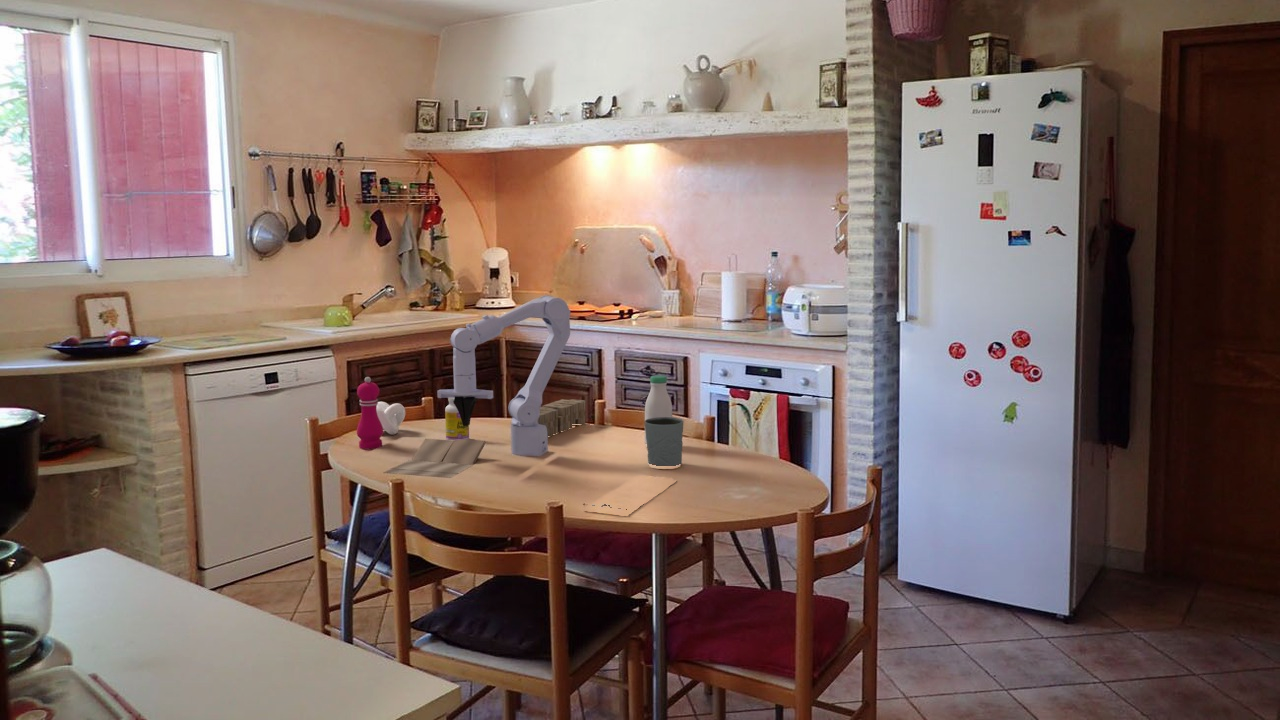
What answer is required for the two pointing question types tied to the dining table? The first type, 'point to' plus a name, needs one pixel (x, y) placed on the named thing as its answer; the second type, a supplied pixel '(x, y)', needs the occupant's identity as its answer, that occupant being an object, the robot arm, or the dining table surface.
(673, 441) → the grey-green tapered open cylinder
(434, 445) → the plank
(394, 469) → the grey slab
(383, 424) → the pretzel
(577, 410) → the block tower
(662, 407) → the milk bottle
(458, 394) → the robot arm
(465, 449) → the plank
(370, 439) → the pepper mill
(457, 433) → the supplement bottle
